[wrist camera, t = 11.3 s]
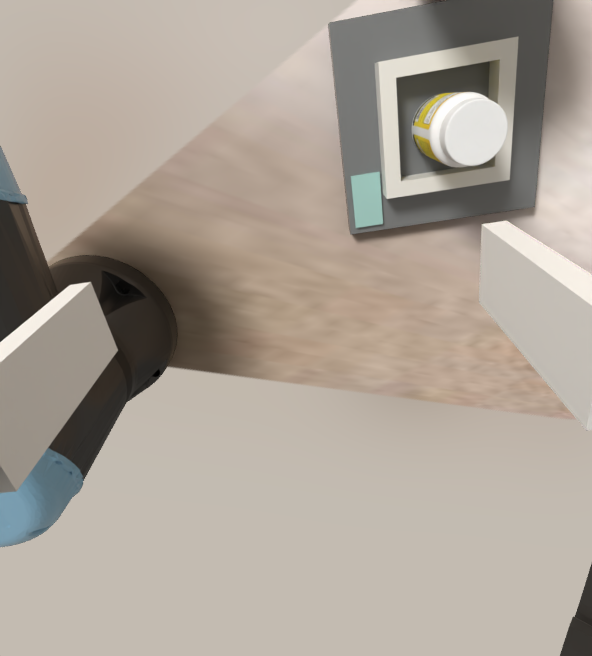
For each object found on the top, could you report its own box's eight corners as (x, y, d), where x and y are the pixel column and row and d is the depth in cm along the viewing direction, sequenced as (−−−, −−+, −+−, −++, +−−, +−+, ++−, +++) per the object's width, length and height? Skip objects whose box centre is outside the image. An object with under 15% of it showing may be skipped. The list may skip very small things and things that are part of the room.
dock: (349, 230, 41) (352, 240, 38) (328, 25, 34) (330, 18, 31) (528, 203, 40) (545, 212, 37) (546, -17, 32) (570, -28, 30)
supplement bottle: (466, 155, 37) (508, 171, 29) (408, 159, 37) (435, 176, 30) (473, 89, 35) (520, 89, 27) (412, 94, 35) (442, 94, 27)
